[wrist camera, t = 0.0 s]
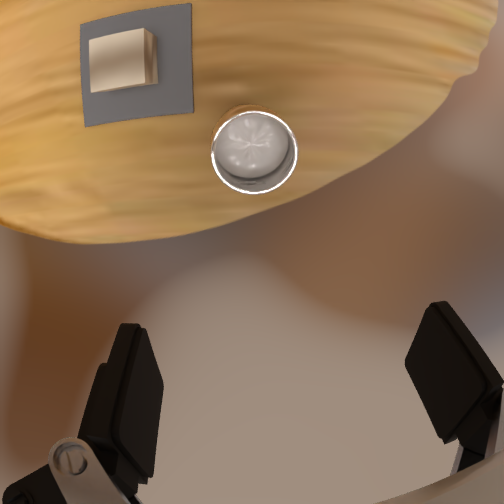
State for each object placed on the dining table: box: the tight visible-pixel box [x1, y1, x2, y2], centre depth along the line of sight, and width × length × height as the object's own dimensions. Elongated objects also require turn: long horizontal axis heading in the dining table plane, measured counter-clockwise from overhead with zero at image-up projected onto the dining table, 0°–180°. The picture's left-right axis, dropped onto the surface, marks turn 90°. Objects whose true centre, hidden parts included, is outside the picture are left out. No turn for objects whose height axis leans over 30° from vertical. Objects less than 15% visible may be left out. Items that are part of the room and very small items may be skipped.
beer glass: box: [210, 104, 298, 195], centre depth 29 cm, size 7×7×15 cm
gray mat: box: [80, 3, 194, 127], centre depth 30 cm, size 14×14×1 cm
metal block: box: [89, 28, 158, 93], centre depth 27 cm, size 6×6×6 cm
